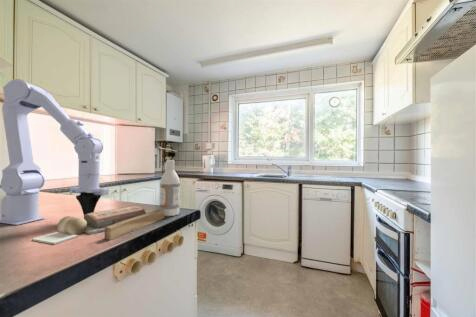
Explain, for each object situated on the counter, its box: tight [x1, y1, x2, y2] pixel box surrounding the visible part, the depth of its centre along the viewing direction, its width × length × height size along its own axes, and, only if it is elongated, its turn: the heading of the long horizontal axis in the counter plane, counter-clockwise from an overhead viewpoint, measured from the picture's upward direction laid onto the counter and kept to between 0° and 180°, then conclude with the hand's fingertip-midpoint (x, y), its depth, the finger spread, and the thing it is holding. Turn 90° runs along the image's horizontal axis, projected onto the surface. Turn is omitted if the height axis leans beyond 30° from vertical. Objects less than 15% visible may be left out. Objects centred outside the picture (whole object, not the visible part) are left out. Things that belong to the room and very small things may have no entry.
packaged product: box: [83, 205, 147, 235], centre depth 71 cm, size 18×5×10 cm
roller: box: [57, 215, 87, 236], centre depth 61 cm, size 5×4×4 cm
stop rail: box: [104, 208, 165, 241], centre depth 68 cm, size 2×22×3 cm, turn 162°
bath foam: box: [159, 159, 181, 217], centre depth 84 cm, size 7×7×20 cm
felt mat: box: [31, 231, 79, 245], centre depth 57 cm, size 8×6×1 cm
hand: (88, 216), depth 74 cm, fingers closed
